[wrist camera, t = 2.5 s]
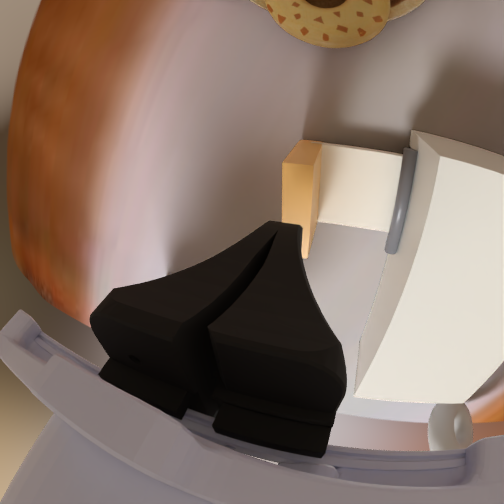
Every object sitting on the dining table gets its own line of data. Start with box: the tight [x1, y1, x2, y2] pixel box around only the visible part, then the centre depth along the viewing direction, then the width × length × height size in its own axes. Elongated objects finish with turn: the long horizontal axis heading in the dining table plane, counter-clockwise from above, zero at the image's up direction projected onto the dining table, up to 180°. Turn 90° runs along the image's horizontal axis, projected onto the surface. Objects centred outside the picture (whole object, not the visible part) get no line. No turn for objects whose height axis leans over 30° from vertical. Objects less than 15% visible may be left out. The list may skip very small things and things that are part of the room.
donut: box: [428, 403, 473, 451], centre depth 22 cm, size 10×3×10 cm, turn 60°
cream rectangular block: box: [353, 130, 504, 404], centre depth 15 cm, size 12×19×6 cm, turn 2°
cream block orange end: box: [282, 140, 403, 259], centre depth 13 cm, size 15×5×5 cm, turn 92°
